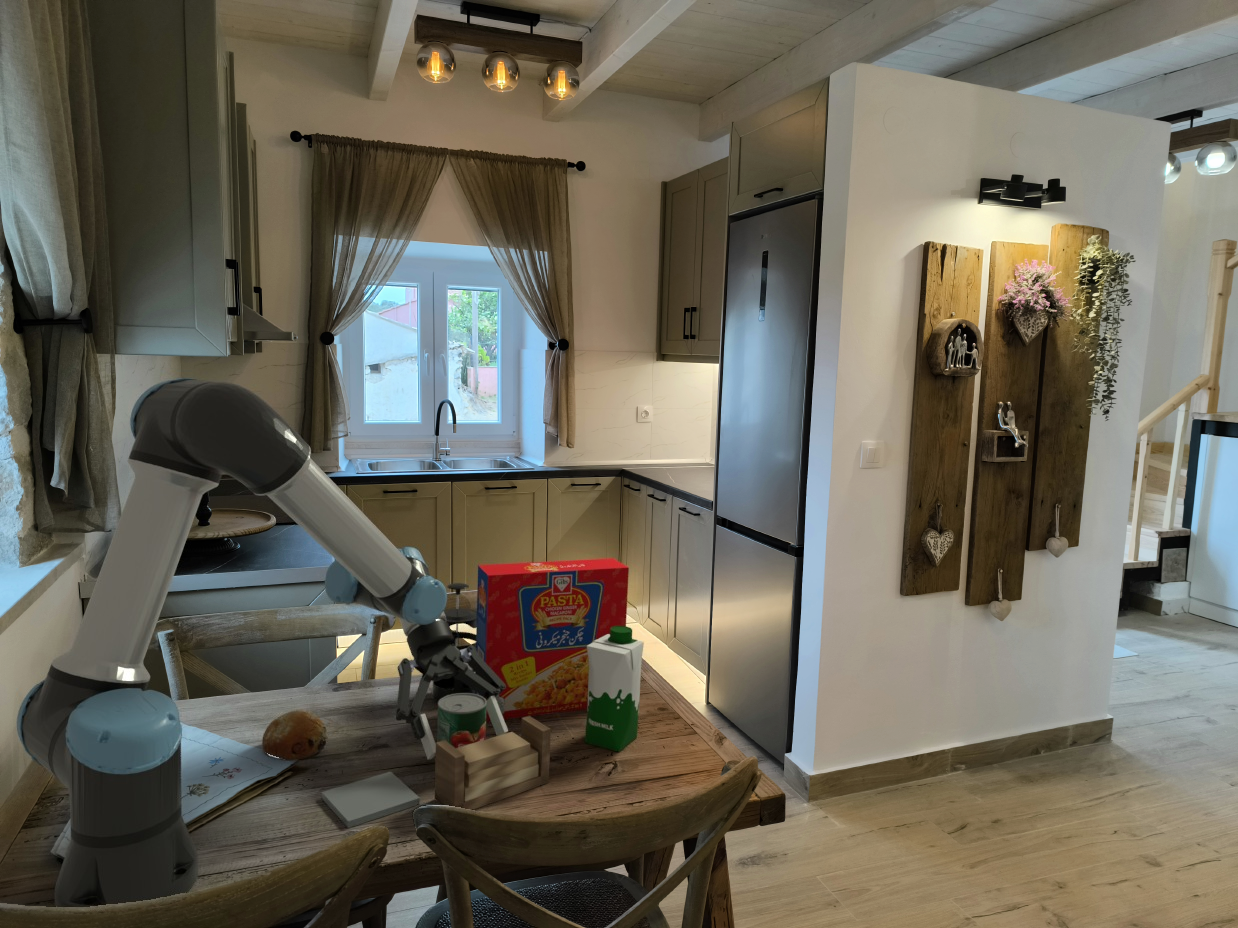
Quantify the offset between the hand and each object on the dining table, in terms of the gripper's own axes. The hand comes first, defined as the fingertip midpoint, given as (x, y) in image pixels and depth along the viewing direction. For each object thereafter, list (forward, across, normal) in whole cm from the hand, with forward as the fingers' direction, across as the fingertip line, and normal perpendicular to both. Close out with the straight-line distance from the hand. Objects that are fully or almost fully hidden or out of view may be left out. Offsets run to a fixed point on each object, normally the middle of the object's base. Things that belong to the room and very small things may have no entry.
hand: (469, 745), depth 133 cm
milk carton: (+7, -26, 0) cm, 27 cm away
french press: (-17, -14, -24) cm, 32 cm away
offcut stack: (+7, 0, +3) cm, 8 cm away
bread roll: (-14, +19, -20) cm, 31 cm away
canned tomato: (+2, 0, -5) cm, 5 cm away
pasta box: (-7, -26, -14) cm, 31 cm away
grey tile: (+3, +16, -4) cm, 17 cm away
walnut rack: (+9, 0, +2) cm, 9 cm away
